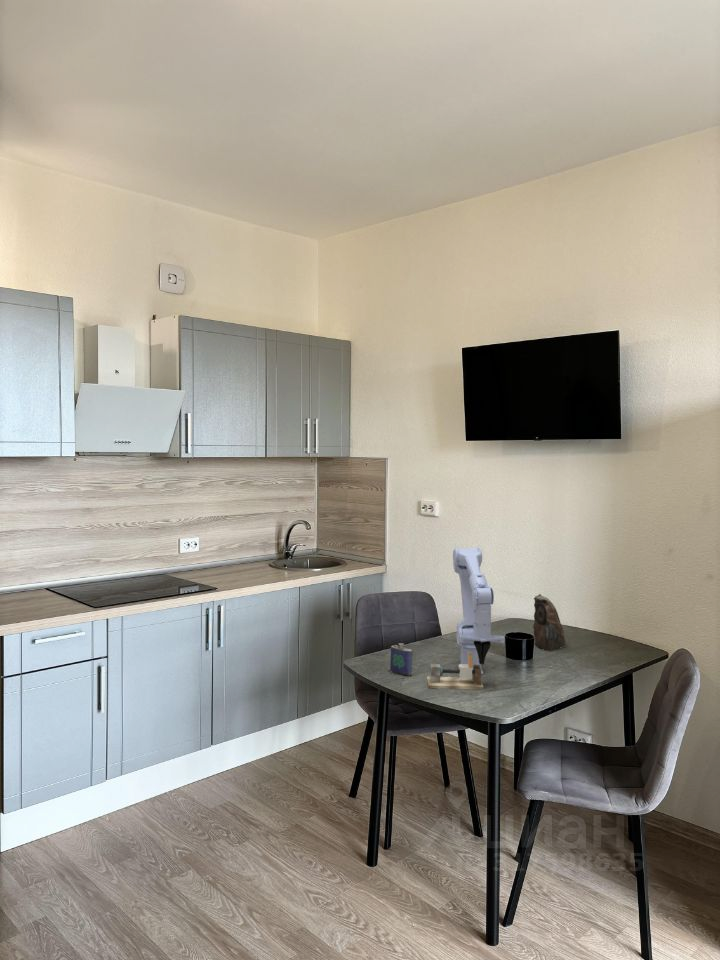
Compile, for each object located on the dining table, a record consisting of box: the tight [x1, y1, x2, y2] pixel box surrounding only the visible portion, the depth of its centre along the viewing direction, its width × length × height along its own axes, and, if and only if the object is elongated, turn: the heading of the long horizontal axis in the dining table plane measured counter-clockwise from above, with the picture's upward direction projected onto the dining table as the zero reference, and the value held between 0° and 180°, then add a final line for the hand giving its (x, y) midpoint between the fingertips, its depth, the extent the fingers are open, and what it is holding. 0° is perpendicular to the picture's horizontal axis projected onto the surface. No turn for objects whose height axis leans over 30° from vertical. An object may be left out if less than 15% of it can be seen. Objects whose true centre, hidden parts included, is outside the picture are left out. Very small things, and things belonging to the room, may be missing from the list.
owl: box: [532, 593, 566, 652], centre depth 293 cm, size 13×13×20 cm
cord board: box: [426, 663, 484, 691], centre depth 245 cm, size 18×9×6 cm, turn 87°
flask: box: [389, 642, 413, 677], centre depth 257 cm, size 9×3×11 cm, turn 47°
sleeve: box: [458, 653, 473, 679], centre depth 245 cm, size 4×4×8 cm
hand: (481, 663), depth 245 cm, fingers closed
